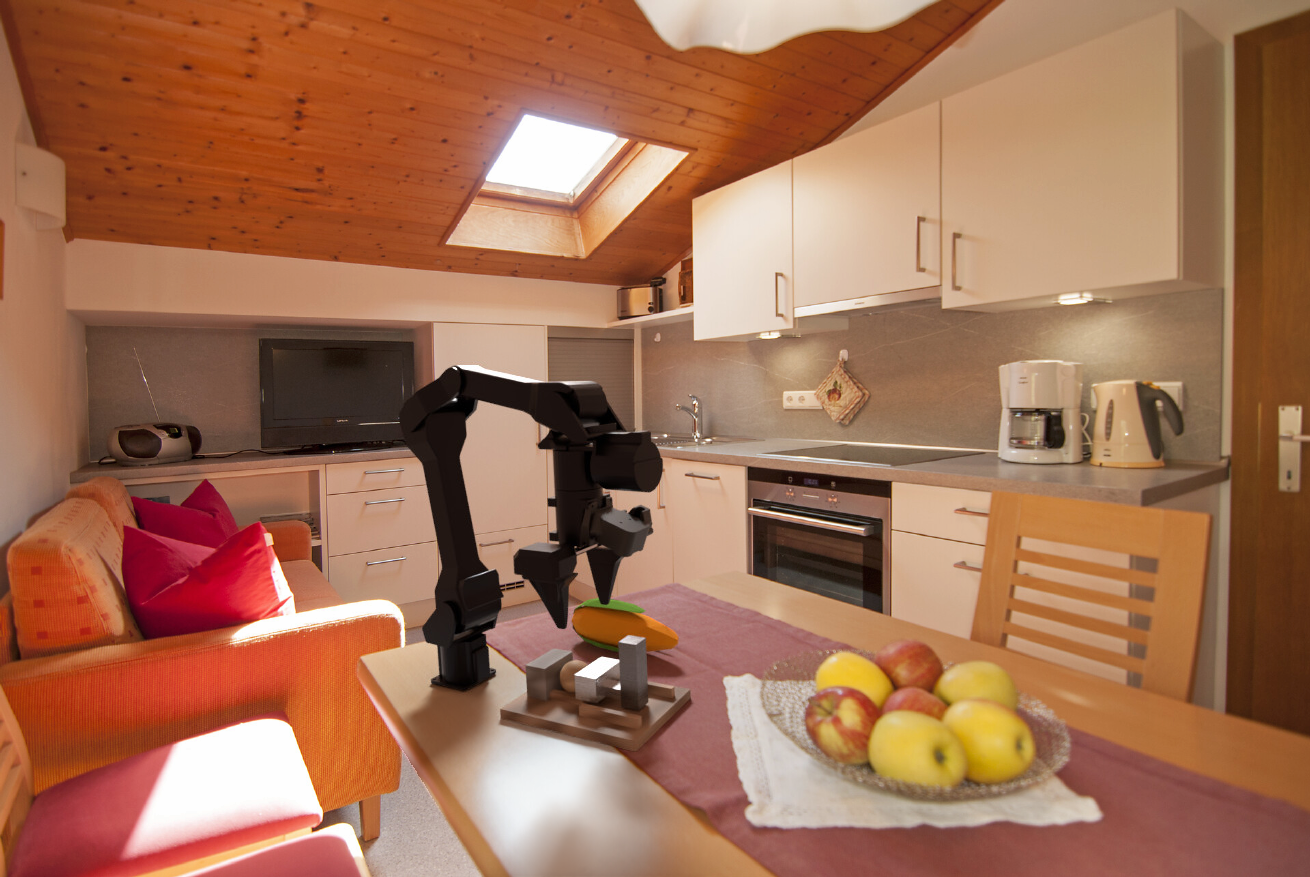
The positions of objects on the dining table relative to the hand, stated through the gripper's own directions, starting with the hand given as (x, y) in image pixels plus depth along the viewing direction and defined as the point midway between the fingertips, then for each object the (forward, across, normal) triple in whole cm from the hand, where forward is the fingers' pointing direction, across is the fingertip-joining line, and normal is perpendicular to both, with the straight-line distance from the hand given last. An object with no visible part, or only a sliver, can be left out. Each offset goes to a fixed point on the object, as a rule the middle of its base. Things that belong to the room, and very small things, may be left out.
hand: (584, 615), depth 84 cm
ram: (+11, +2, -3) cm, 11 cm away
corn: (+13, +20, +6) cm, 25 cm away
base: (+12, +2, 0) cm, 13 cm away
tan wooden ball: (+9, +2, +3) cm, 10 cm away
